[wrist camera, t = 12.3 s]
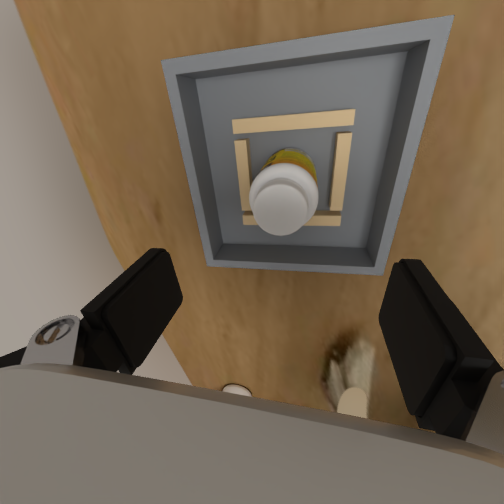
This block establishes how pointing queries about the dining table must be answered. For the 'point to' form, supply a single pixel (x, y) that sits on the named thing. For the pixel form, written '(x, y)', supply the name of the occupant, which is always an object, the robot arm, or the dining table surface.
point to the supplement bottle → (284, 192)
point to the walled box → (307, 139)
